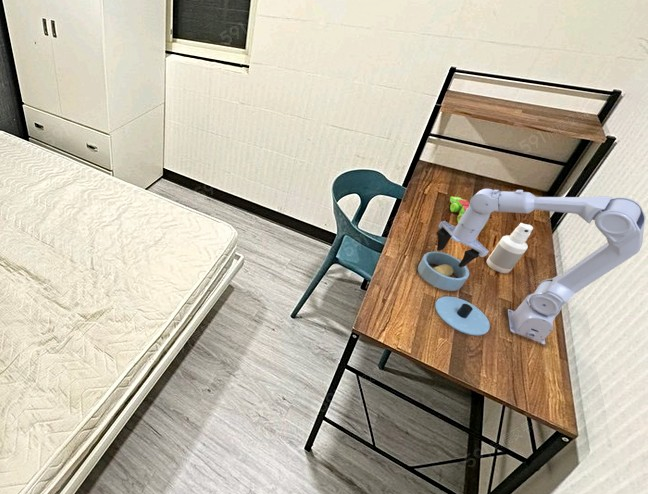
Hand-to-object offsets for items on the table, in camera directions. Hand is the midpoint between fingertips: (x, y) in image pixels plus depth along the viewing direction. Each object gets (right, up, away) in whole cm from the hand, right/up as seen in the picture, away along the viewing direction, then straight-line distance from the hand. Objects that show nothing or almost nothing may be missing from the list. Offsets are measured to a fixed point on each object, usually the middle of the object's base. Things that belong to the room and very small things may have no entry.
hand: (450, 257), depth 129 cm
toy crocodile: (+28, +10, +31) cm, 43 cm away
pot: (0, -7, +5) cm, 9 cm away
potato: (0, -7, +5) cm, 8 cm away
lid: (-3, -16, -9) cm, 18 cm away
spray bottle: (+23, -5, +10) cm, 26 cm away
